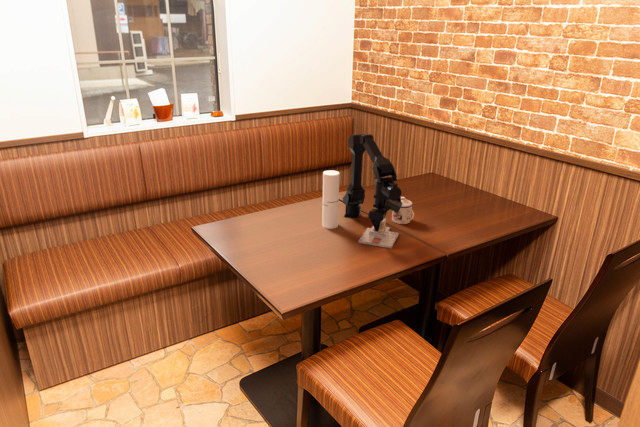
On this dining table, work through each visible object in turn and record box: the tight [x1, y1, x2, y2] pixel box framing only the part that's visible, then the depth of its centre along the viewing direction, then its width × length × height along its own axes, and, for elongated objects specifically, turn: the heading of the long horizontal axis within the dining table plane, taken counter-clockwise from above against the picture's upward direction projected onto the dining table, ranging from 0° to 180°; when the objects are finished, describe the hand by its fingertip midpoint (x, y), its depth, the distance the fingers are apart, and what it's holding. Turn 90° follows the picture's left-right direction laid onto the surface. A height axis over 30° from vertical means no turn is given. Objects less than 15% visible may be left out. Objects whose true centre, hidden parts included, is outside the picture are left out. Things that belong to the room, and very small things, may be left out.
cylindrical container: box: [321, 169, 341, 230], centre depth 205 cm, size 7×7×25 cm
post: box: [374, 217, 387, 232], centre depth 196 cm, size 4×4×8 cm
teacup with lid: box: [391, 196, 415, 225], centre depth 213 cm, size 12×9×12 cm
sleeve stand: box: [358, 225, 399, 249], centre depth 197 cm, size 14×14×4 cm
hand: (379, 226), depth 196 cm, fingers open, 9 cm apart
